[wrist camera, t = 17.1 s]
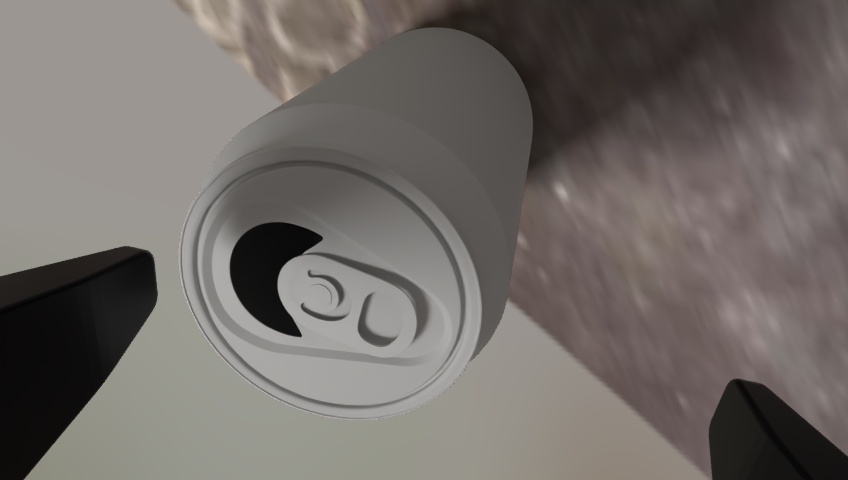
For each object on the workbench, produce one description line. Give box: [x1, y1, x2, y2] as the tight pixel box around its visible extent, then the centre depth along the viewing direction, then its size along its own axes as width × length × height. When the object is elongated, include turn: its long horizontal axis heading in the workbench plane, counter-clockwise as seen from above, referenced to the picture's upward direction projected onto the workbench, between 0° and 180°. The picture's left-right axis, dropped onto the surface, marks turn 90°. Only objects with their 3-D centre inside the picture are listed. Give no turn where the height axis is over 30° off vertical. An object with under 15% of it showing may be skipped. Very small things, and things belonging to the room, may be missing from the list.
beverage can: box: [179, 27, 533, 420], centre depth 16 cm, size 6×6×12 cm
